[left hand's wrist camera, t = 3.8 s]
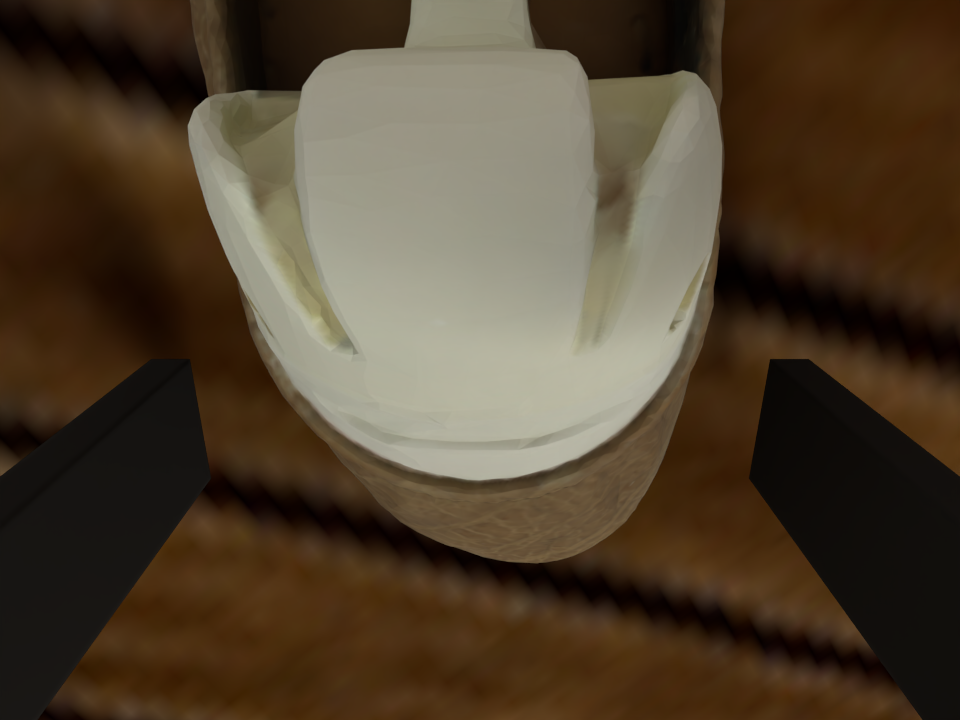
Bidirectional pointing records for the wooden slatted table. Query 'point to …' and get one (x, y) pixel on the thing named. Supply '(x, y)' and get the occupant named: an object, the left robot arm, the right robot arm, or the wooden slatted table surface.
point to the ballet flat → (473, 242)
